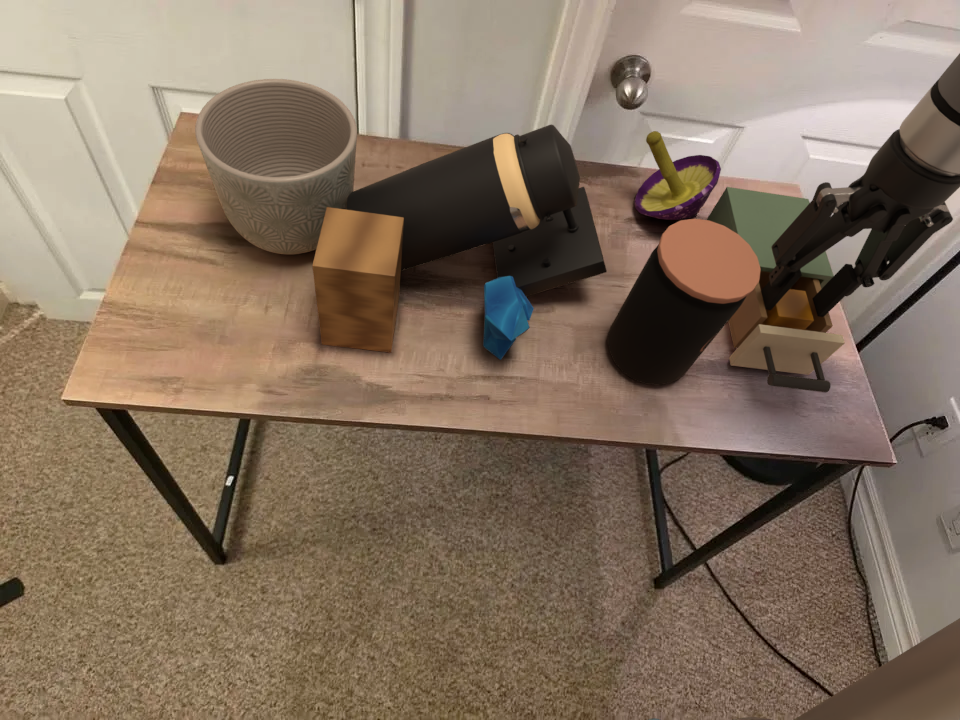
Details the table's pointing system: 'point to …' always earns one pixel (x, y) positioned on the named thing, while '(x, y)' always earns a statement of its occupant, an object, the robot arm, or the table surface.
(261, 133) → the planter
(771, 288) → the robot arm
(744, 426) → the table surface
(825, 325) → the drawer
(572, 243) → the light fixture
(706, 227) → the coffee jar
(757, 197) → the cabinet
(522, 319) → the crystal
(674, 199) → the decorative mushroom
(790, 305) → the block
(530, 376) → the table surface
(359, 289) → the stand
